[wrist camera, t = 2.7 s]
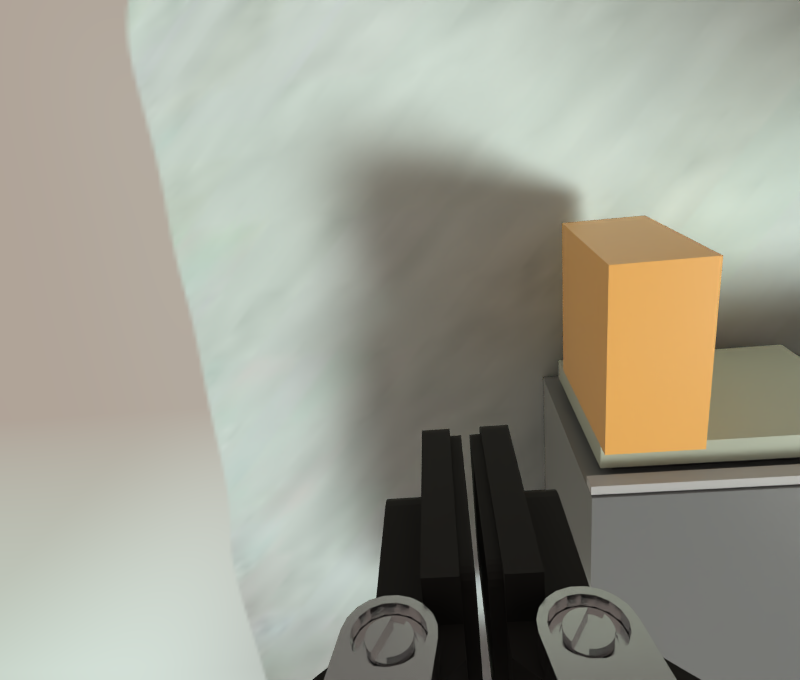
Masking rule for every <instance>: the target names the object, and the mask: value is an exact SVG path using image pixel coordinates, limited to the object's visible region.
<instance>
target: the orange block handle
mask: <svg viewBox="0 0 800 680" xmlns="http://www.w3.org/2000/svg"><path fill="white" fill-rule="evenodd" d="M722 261H723V255H721V254H719V253H717V252H715V251H713V250H711V249H709V248H707V247H705V246H703V245H701V244H700V243H698V242H696V241H694V240H692V239H690V238H688V237H686V236H684V235H682V234H680V233H678V232H676V231H674V230H672V229H670V228H668V227H666V226H664V225H662V224H660V223H658V222H656V221H654V220H652V219H651V218H649V217H647V216H634V217H623V218H612V219H601V220H590V221H579V222H568V223H562V275H563V360H559V379H560V382H561V384H562V386H563V388H564V390H565V392H566V395H567V397H568V399H569V401H570V403H571V405H572V408H573V410H574V412H575V414H576V416H577V418H578V421H579V423H580V425H581V427H582V429H583V432H584V434H585V436H586V438H587V440H588V442H589V445H590V447H591V449H592V451H593V453H594V455H595V458H596V460H597V462H598V464H599V466H600V468H615V467H633V466H651V465H668V464H686V463H704V462H722V461H740V460H757V459H775V458H793V457H800V357H799V356H797V355H796V354H794V353H793V352H791V351H790V350H789V349H787V348H786V347H784V346H783V345H768V346H754V347H740V348H726V349H715V341H716V330H717V318H718V307H719V295H720V284H721V272H722Z"/></svg>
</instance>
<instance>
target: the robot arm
mask: <svg viewBox="0 0 800 680" xmlns="http://www.w3.org/2000/svg"><path fill="white" fill-rule="evenodd" d="M470 451H471V466H472V480H473V495H474V509H475V524H476V538H477V551H478V562H479V571H480V580H481V589H482V598H483V606H484V615H485V624H486V633H487V642H488V651H489V660H490V668H491V677H492V680H701V679H699V678H697V677H696V676H694V675H692V674H690V673H689V672H687V671H685V670H684V669H682V668H680V667H679V666H677V665H675V664H673V663H672V662H670V661H668V660H667V659H665V658H663V656H662V655H661V653H660V651H659V650H658V648H657V647H656V645H655V643H654V642H653V640H652V638H651V637H650V635H649V633H648V632H647V630H646V629H645V627H644V625H643V624H642V622H641V620H640V619H639V617H638V616H637V614H636V613H635V612H634V611H633V610H632V608H631V607H630V606H629V605H628V604H627V603H626V602H624V601H623V600H621V599H620V598H619V597H617V596H616V595H614V594H611V593H609V592H606V591H604V590H602V589H598V588H592V587H590V586H589V583H588V580H587V577H586V575H585V572H584V569H583V566H582V563H581V560H580V557H579V554H578V551H577V548H576V545H575V542H574V539H573V536H572V533H571V530H570V527H569V524H568V521H567V518H566V515H565V512H564V509H563V506H562V503H561V500H560V497H559V494H558V492H557V490H556V489H548V490H532V491H524V488H523V484H522V480H521V476H520V472H519V468H518V464H517V460H516V456H515V452H514V448H513V444H512V440H511V436H510V432H509V428H508V425H499V426H484V427H480V434H475V435H470ZM313 680H483V677H482V663H481V649H480V635H479V621H478V607H477V594H476V581H475V570H474V559H473V549H472V540H471V530H470V520H469V511H468V501H467V491H466V481H465V472H464V462H463V452H462V443H461V435H460V436H450V431H449V429H441V430H426V431H422V484H421V497H416V498H400V499H387V501H386V507H385V517H384V527H383V537H382V547H381V557H380V567H379V577H378V587H377V597H376V598H375V599H372V600H369V601H367V602H366V603H364V604H362V605H360V606H359V607H357V608H356V609H355V610H354V611H353V612H352V613H351V614H350V615H349V616H348V617H347V619H346V621H345V622H344V624H343V626H342V628H341V630H340V633H339V636H338V639H337V642H336V645H335V648H334V651H333V654H332V657H331V660H330V663H329V666H328V668H327V669H325V670H324V671H323V672H322V673H320V674H319V675H318V676H317V677H315V678H314V679H313Z"/></svg>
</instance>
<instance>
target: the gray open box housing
mask: <svg viewBox="0 0 800 680" xmlns="http://www.w3.org/2000/svg"><path fill="white" fill-rule="evenodd" d="M543 396H544V446H545V490H548V489H556V490H557V492H558V494H559V497H560V500H561V503H562V506H563V509H564V512H565V515H566V518H567V521H568V524H569V527H570V530H571V533H572V536H573V539H574V542H575V545H576V548H577V551H578V554H579V557H580V560H581V563H582V566H583V569H584V572H585V575H586V577H587V580H588V583H589V586H590V587H592V588H598V589H602V590H604V591H606V592H609V593H611V594H614V595H616V596H617V597H619V598H620V599H621V600H623V601H624V602H626V603H627V604H628V605H629V606H630V607H631V608H632V610H633V611H634V612H635V613H636V614H637V616H638V617H639V619H640V620H641V622H642V624H643V625H644V627H645V629H646V630H647V632H648V633H649V635H650V637H651V638H652V640H653V642H654V643H655V645H656V647H657V648H658V650H659V651H660V653H661V655H662V656H663V658H665V659H667V660H668V661H670V662H672V663H673V664H675V665H677V666H679V667H680V668H682V669H684V670H685V671H687V672H689V673H690V674H692V675H694V676H696V677H697V678H699V679H701V680H800V457H793V458H775V459H757V460H740V461H722V462H704V463H686V464H668V465H651V466H633V467H615V468H600V466H599V464H598V462H597V460H596V458H595V455H594V453H593V451H592V449H591V447H590V445H589V442H588V440H587V438H586V436H585V434H584V432H583V429H582V427H581V425H580V423H579V421H578V418H577V416H576V414H575V412H574V410H573V408H572V405H571V403H570V401H569V399H568V397H567V395H566V392H565V390H564V388H563V386H562V384H561V382H560V379H559V376H554V377H543Z"/></svg>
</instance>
